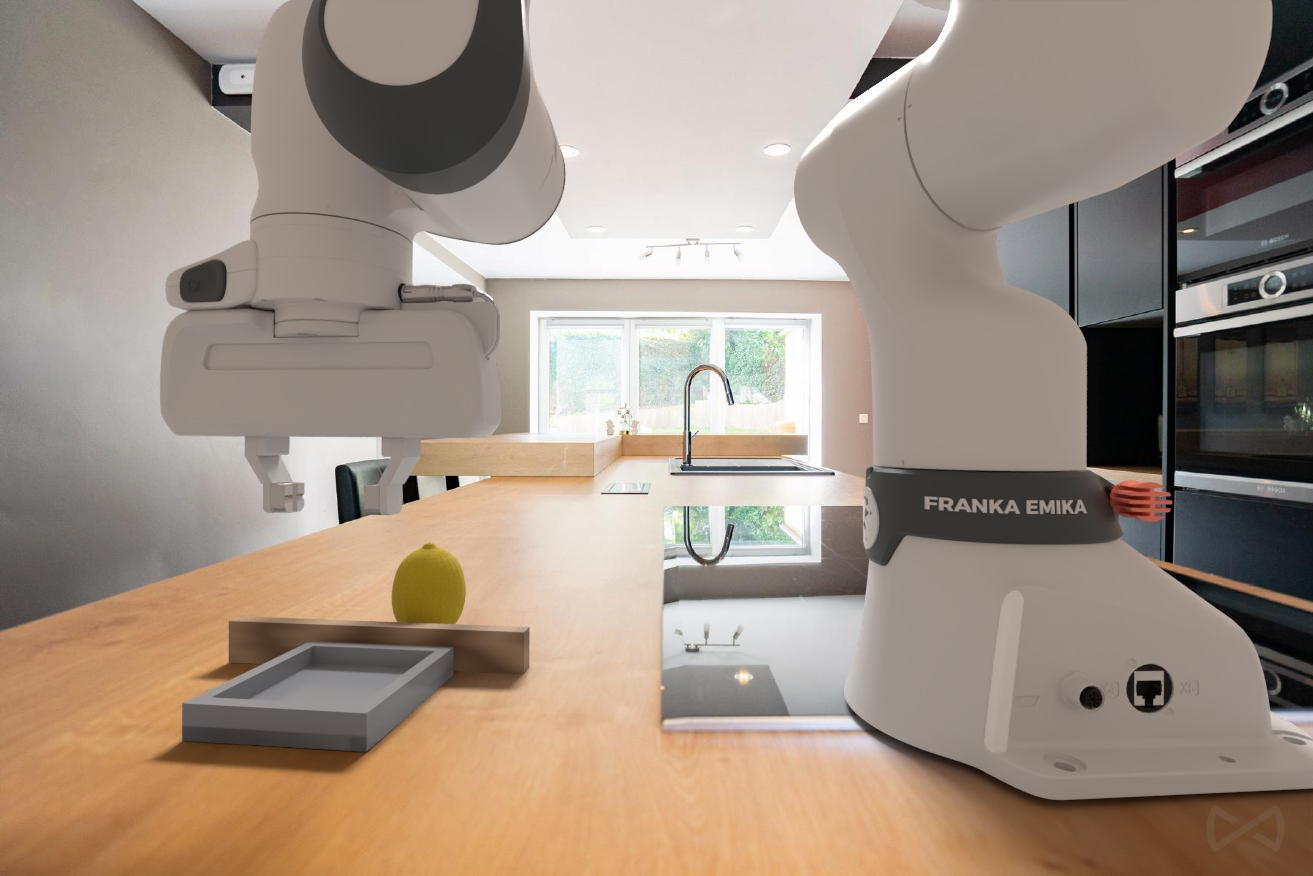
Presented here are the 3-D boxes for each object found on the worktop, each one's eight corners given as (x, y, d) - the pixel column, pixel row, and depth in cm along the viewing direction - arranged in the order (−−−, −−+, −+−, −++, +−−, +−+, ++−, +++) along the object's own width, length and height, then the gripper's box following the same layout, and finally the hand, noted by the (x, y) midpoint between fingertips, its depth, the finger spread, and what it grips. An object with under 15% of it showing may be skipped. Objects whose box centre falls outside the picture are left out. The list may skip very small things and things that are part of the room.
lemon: (442, 658, 47) (443, 550, 47) (376, 652, 48) (376, 547, 48) (478, 635, 52) (478, 538, 52) (417, 631, 53) (417, 536, 53)
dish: (453, 676, 43) (453, 647, 43) (366, 751, 33) (366, 713, 33) (309, 669, 44) (309, 641, 44) (182, 740, 34) (182, 703, 34)
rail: (529, 669, 45) (529, 627, 45) (524, 676, 43) (524, 632, 43) (241, 656, 47) (241, 616, 47) (228, 662, 46) (228, 621, 46)
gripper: (517, 295, 41) (515, 510, 41) (224, 300, 43) (222, 504, 43) (479, 268, 34) (477, 523, 34) (138, 276, 37) (136, 516, 37)
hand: (333, 513), depth 39 cm, fingers open, 5 cm apart
